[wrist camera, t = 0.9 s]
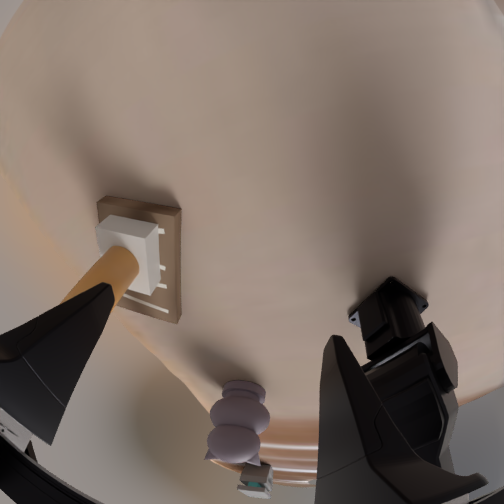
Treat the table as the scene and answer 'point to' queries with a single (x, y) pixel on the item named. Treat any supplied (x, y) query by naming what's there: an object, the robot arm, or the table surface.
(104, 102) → the table surface
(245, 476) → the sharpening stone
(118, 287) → the rubber stamp
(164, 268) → the walnut board
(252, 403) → the grey stacked rounded piece
